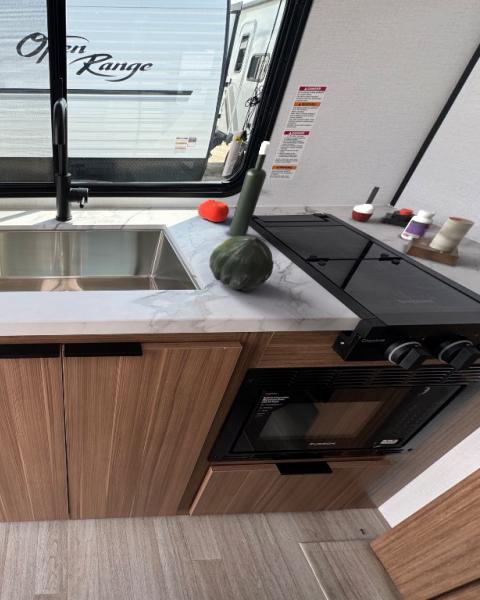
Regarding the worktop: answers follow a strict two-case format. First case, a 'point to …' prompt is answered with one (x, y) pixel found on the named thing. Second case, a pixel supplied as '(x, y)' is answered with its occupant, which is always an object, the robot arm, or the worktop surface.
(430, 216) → the pill bottle
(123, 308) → the worktop surface
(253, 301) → the worktop surface
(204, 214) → the tomato
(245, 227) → the wine bottle
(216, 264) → the squash
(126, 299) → the worktop surface
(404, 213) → the button
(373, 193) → the cocoa
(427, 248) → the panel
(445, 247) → the beige waisted cup
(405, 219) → the button box
